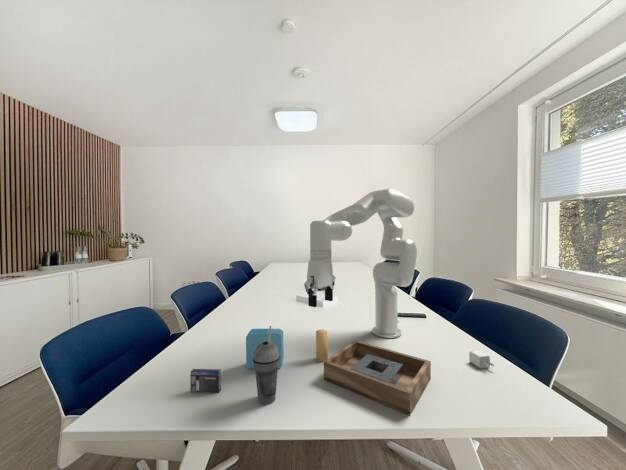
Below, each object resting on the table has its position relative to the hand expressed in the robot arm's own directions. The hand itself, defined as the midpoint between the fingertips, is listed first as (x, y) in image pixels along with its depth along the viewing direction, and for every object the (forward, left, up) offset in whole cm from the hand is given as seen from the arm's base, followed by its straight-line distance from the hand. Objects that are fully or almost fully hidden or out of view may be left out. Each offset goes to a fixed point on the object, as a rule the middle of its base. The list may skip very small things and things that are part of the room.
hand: (321, 303), depth 93 cm
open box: (0, +21, -20) cm, 29 cm away
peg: (0, 0, -20) cm, 20 cm away
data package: (+15, -13, -20) cm, 28 cm away
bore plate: (0, +21, -20) cm, 29 cm away
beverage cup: (+27, +1, -20) cm, 34 cm away
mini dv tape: (+35, -16, -20) cm, 44 cm away
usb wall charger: (-28, +46, -20) cm, 58 cm away
